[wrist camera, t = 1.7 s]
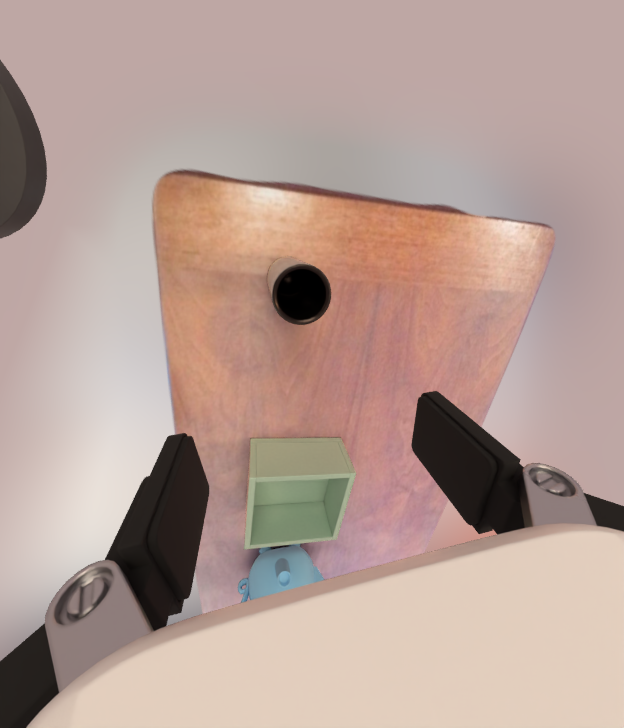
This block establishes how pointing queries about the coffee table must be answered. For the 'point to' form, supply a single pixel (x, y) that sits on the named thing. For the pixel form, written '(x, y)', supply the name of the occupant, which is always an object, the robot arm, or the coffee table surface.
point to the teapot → (279, 572)
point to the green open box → (296, 490)
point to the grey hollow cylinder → (298, 290)
